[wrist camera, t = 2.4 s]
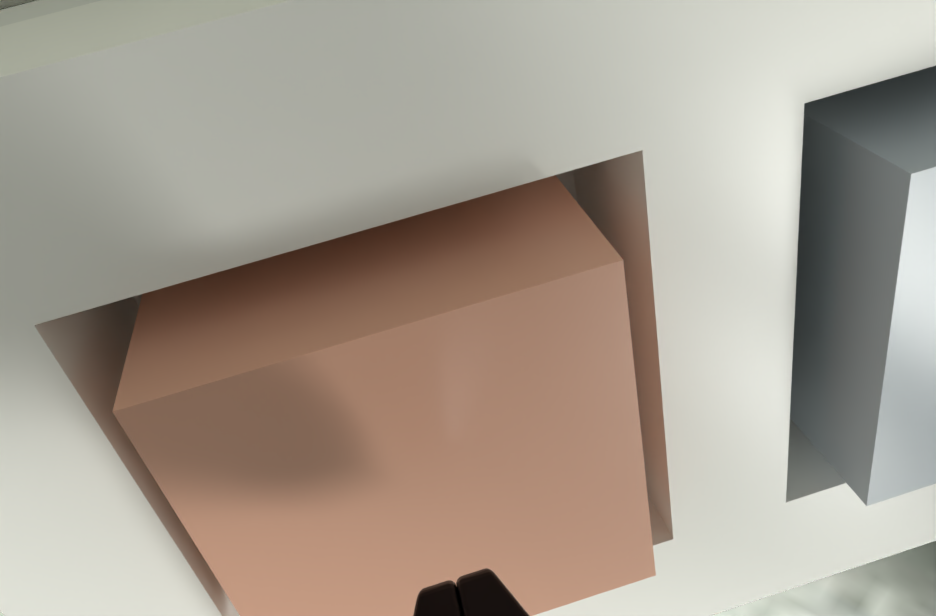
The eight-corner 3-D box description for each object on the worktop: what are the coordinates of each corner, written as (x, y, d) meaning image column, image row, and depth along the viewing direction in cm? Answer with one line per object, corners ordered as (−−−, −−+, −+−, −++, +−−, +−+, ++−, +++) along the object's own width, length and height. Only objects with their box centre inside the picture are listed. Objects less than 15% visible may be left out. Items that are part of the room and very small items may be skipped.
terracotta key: (592, 452, 14) (655, 575, 12) (285, 548, 13) (289, 695, 11) (548, 166, 11) (623, 259, 8) (145, 282, 10) (112, 411, 8)
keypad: (1373, 212, 19) (1636, 307, 16) (190, 585, 17) (170, 796, 14) (1709, -433, 13) (2311, -535, 9) (-163, 52, 11) (-395, 181, 7)
